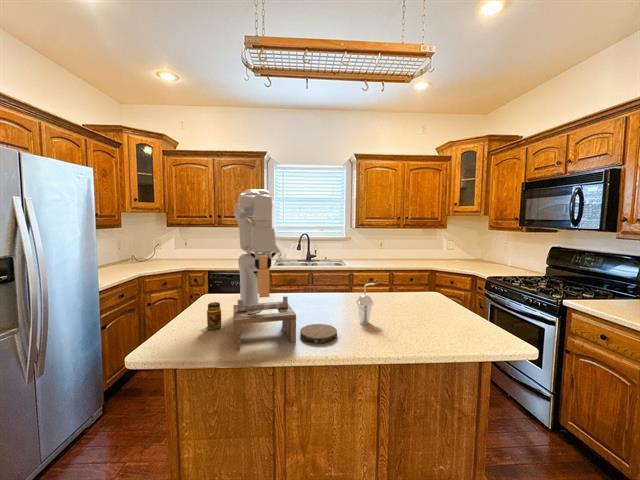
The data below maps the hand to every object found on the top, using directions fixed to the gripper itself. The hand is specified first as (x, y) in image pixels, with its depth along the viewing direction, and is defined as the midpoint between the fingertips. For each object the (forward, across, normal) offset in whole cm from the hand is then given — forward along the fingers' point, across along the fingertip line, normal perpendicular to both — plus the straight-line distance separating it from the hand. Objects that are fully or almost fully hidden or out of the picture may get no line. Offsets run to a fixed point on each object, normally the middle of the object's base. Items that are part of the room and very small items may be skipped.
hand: (263, 267), depth 125 cm
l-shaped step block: (+11, 0, 0) cm, 11 cm away
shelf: (+30, 0, 0) cm, 30 cm away
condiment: (+30, -21, +16) cm, 40 cm away
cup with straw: (+30, +50, +4) cm, 59 cm away
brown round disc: (+31, +23, -6) cm, 39 cm away
